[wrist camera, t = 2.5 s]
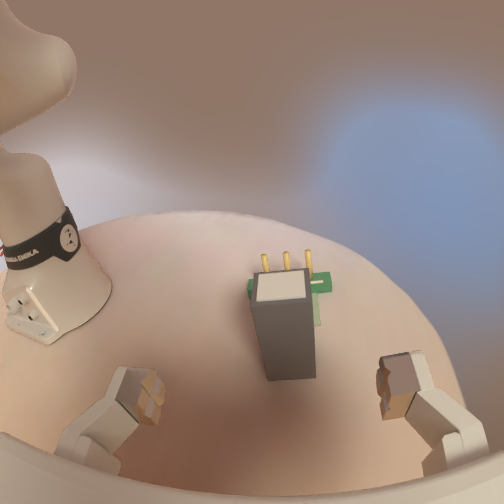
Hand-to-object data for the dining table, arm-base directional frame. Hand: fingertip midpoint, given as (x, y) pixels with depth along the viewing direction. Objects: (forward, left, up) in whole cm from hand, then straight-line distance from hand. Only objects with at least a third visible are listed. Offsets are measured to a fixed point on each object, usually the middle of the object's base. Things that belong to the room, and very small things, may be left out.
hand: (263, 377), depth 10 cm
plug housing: (0, +12, -16) cm, 20 cm away
